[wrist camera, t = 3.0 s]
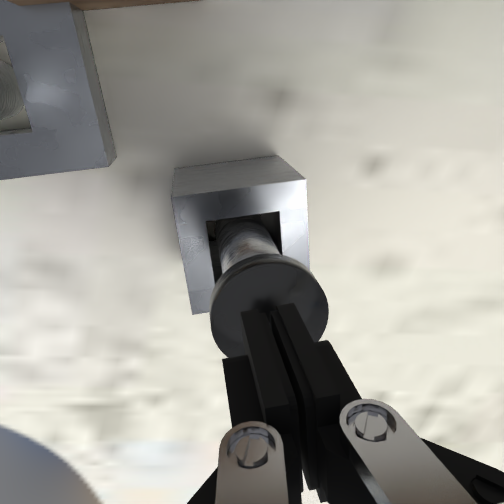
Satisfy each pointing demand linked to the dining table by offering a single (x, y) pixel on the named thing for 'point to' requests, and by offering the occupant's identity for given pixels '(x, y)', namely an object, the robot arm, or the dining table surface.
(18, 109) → the grey round-topped peg
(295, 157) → the dining table surface
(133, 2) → the block
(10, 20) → the socket plate
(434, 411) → the dining table surface
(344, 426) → the robot arm
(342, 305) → the dining table surface
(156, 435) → the dining table surface
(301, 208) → the housing
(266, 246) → the dark grey knobbed peg
